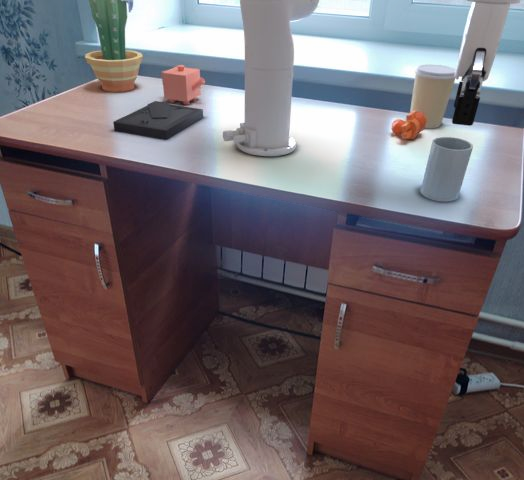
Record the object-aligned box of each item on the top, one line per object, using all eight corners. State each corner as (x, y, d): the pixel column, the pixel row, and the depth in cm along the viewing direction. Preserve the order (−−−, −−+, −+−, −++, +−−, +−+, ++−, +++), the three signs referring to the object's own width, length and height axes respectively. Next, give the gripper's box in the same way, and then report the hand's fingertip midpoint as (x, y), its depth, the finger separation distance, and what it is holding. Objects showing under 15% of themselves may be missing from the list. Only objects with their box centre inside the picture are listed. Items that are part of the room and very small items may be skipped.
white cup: (437, 204, 89) (451, 152, 83) (412, 189, 93) (424, 139, 87) (465, 197, 91) (481, 147, 85) (440, 184, 96) (453, 135, 90)
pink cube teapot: (199, 107, 128) (197, 71, 123) (157, 101, 131) (154, 66, 126) (212, 100, 134) (210, 65, 129) (171, 94, 137) (169, 60, 132)
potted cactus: (120, 98, 133) (103, -19, 117) (77, 88, 139) (56, -24, 122) (158, 86, 143) (147, -23, 127) (117, 78, 149) (102, -28, 133)
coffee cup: (440, 118, 127) (453, 65, 120) (447, 130, 120) (461, 74, 112) (403, 116, 128) (414, 63, 120) (407, 128, 121) (419, 72, 113)
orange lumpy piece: (415, 118, 107) (430, 105, 115) (381, 124, 111) (398, 111, 119) (417, 142, 110) (431, 128, 118) (384, 147, 114) (400, 133, 122)
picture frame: (155, 110, 126) (114, 130, 113) (154, 100, 124) (112, 120, 112) (203, 117, 122) (166, 139, 110) (202, 107, 121) (165, 129, 108)
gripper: (468, -17, 79) (441, 100, 90) (467, -7, 67) (436, 128, 78) (519, -15, 78) (485, 104, 89) (527, -4, 65) (487, 134, 76)
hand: (462, 115), depth 83 cm, fingers open, 9 cm apart
